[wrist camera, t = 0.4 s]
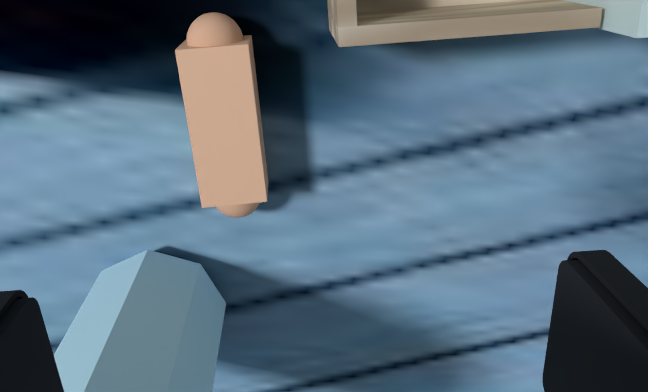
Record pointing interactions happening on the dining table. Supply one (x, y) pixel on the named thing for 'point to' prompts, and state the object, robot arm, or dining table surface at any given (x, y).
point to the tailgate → (622, 16)
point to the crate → (451, 19)
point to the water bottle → (145, 329)
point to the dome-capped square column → (223, 115)
